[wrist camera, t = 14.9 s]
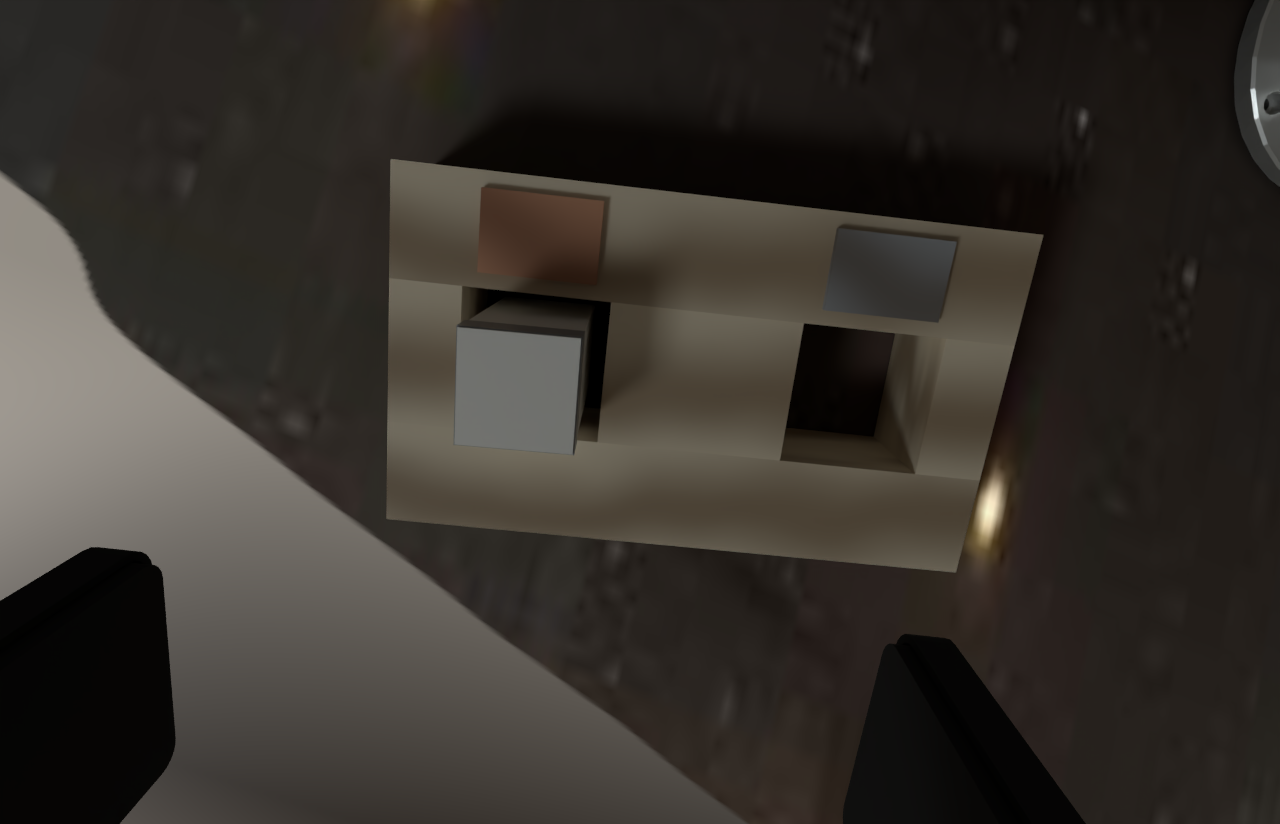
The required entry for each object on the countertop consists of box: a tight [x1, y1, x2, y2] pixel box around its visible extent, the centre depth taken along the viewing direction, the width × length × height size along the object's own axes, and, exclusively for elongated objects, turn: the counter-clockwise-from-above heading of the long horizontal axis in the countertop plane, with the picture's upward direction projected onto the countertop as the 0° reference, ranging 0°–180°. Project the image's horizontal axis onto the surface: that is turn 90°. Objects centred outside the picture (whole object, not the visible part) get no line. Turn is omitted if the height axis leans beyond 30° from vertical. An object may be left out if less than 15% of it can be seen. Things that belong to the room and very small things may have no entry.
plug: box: [454, 297, 595, 455], centre depth 27 cm, size 4×4×9 cm
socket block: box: [387, 159, 1043, 572], centre depth 29 cm, size 14×24×5 cm, turn 84°
